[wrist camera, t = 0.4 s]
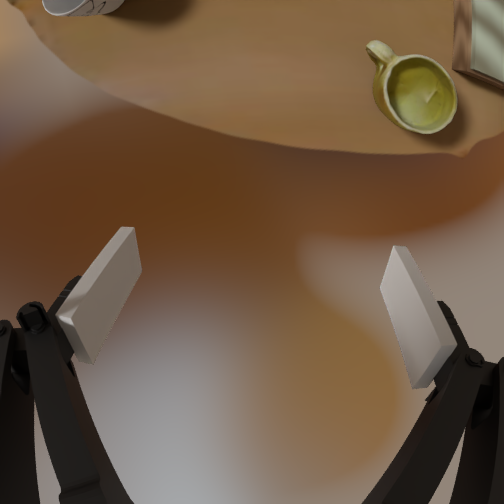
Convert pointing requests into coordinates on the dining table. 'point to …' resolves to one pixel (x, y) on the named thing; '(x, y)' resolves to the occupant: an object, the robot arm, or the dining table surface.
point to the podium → (479, 40)
